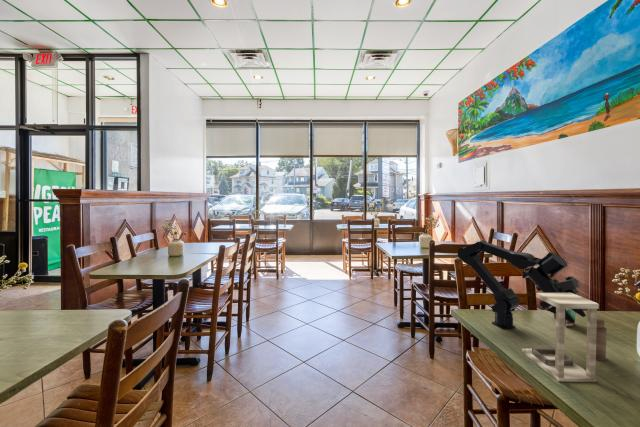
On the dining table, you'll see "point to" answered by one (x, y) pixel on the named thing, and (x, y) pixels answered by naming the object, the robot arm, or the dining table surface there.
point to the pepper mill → (600, 340)
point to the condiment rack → (555, 357)
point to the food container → (567, 323)
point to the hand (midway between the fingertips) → (579, 319)
